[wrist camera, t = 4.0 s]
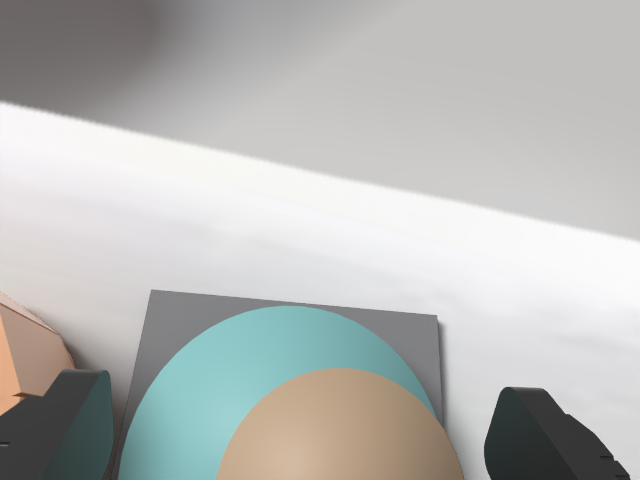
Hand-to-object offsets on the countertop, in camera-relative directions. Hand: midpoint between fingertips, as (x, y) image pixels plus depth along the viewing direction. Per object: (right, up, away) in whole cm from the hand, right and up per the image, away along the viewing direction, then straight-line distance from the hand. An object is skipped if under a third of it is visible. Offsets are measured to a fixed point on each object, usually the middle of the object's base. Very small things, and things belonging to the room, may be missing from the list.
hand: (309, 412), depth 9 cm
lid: (-1, -3, +4) cm, 5 cm away
